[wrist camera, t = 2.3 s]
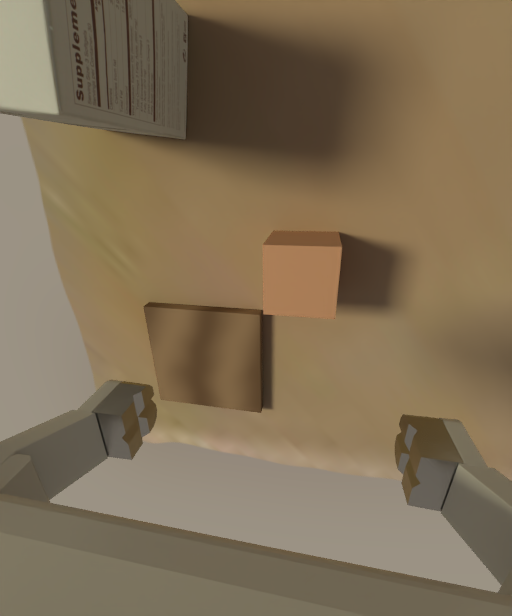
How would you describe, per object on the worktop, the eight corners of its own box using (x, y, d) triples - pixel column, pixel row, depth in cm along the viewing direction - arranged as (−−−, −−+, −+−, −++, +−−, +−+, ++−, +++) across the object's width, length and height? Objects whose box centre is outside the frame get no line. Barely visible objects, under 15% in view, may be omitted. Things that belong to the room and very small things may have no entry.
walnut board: (261, 310, 27) (259, 314, 26) (262, 405, 32) (261, 412, 31) (149, 302, 29) (143, 306, 28) (165, 393, 34) (160, 399, 33)
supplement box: (99, 130, 24) (-104, 97, 12) (88, 4, 20) (-198, -196, 9) (189, 143, 23) (59, 120, 12) (193, 13, 20) (18, -195, 8)
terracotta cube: (338, 231, 23) (342, 247, 19) (332, 292, 26) (335, 319, 21) (273, 230, 24) (262, 244, 20) (273, 289, 26) (263, 314, 22)
